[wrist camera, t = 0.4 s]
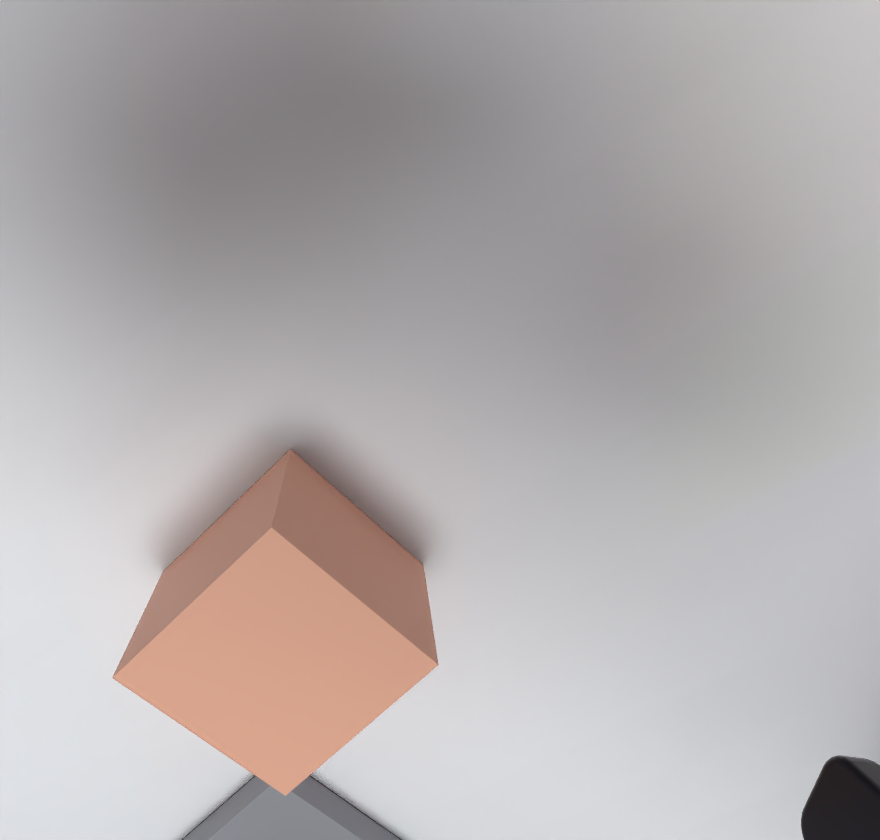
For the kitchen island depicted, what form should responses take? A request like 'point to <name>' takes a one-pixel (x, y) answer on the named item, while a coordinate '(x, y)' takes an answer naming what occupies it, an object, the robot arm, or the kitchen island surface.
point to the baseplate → (288, 816)
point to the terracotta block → (283, 627)
